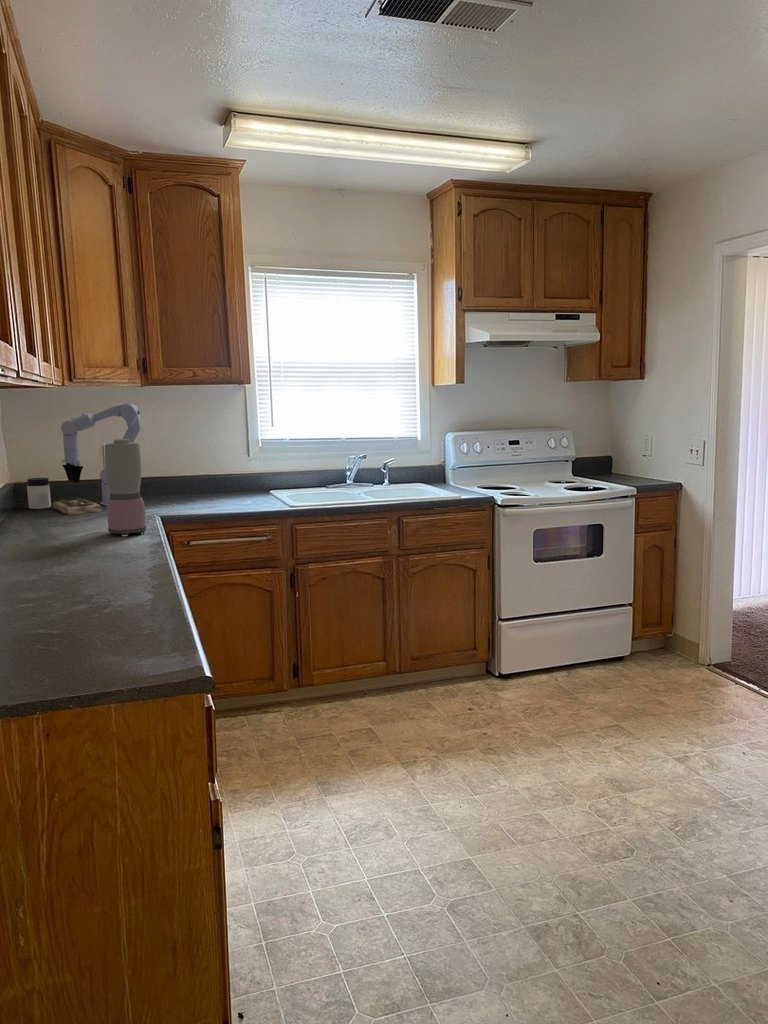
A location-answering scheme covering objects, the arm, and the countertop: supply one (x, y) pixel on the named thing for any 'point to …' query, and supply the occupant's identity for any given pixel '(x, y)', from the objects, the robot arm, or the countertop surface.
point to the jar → (38, 493)
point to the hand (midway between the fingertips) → (73, 481)
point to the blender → (124, 487)
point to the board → (76, 506)
